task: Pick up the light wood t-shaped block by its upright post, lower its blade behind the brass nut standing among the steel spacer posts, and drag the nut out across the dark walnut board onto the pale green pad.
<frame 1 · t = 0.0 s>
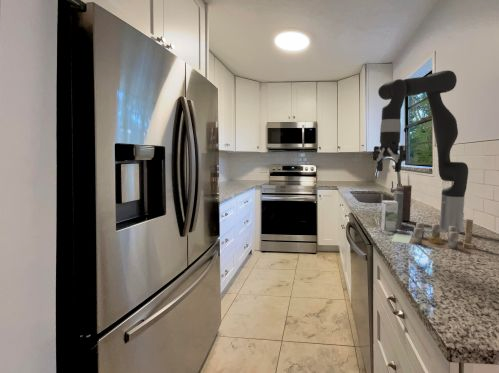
hand: (388, 171, 132), 29 cm above the countertop, tool pointing down, fingers open, 8 cm apart
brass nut: (435, 242, 131), point 1 cm above the countertop, touching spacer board
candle: (402, 221, 181), on the countertop
light wood t-shaped block: (467, 246, 126), point 1 cm above the countertop, touching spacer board
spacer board: (434, 244, 131), on the countertop
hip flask: (397, 226, 168), on the countertop
syrup box: (388, 231, 156), on the countertop
green pad: (401, 240, 138), on the countertop
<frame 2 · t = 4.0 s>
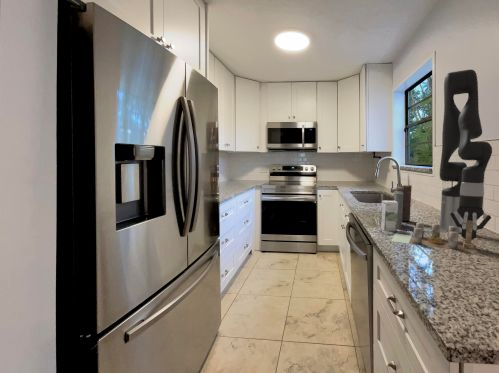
hand: (468, 238, 125), 4 cm above the countertop, tool pointing down, fingers closed on light wood t-shaped block, 2 cm apart
light wood t-shaped block: (467, 246, 126), point 1 cm above the countertop, touching gripper, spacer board
everything else where it was.
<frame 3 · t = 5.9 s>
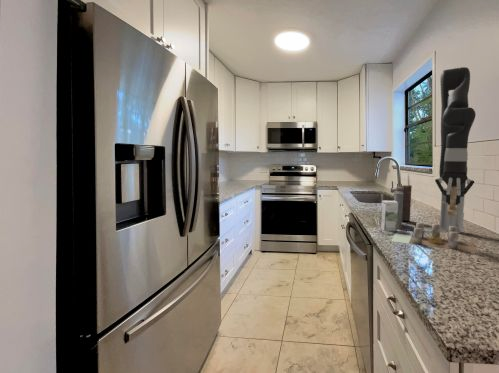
hand: (452, 204, 127), 17 cm above the countertop, tool pointing down, fingers closed on light wood t-shaped block
light wood t-shaped block: (452, 211, 129), point 14 cm above the countertop, tilted 17°, touching gripper
everything else where it was.
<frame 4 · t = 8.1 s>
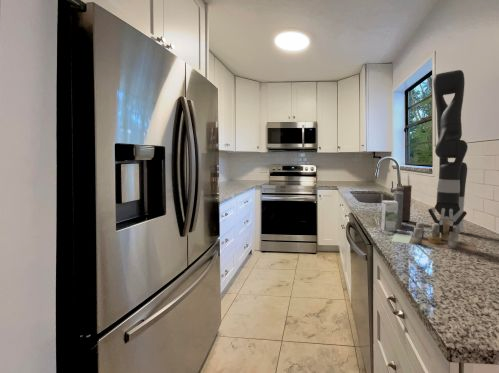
hand: (445, 234, 129), 5 cm above the countertop, tool pointing down, fingers closed on light wood t-shaped block, 2 cm apart
light wood t-shaped block: (445, 233, 132), point 4 cm above the countertop, tilted 53°, touching gripper
everything else where it was.
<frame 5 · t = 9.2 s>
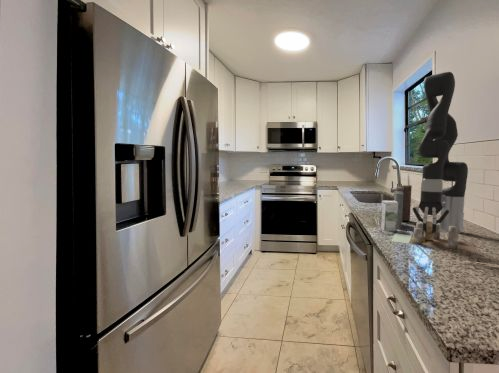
hand: (429, 232, 132), 5 cm above the countertop, tool pointing down, fingers closed on light wood t-shaped block, 2 cm apart
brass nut: (418, 240, 134), point 1 cm above the countertop
light wood t-shaped block: (429, 232, 135), point 4 cm above the countertop, tilted 60°, touching gripper, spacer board
everything else where it was.
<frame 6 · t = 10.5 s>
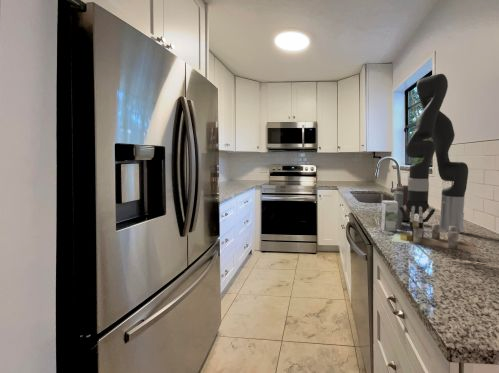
hand: (416, 230, 134), 5 cm above the countertop, tool pointing down, fingers closed on light wood t-shaped block, 2 cm apart
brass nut: (405, 239, 136), point 1 cm above the countertop, touching green pad, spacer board, light wood t-shaped block
light wood t-shaped block: (416, 231, 137), point 4 cm above the countertop, tilted 62°, touching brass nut, gripper, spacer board
everything else where it was.
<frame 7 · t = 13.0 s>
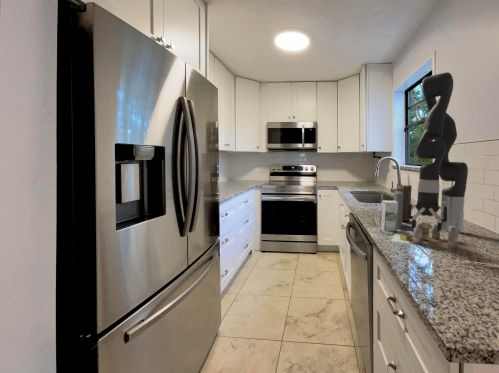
hand: (425, 230, 133), 6 cm above the countertop, tool pointing down, fingers open, 8 cm apart
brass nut: (405, 238, 136), point 1 cm above the countertop, touching green pad, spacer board
light wood t-shaped block: (425, 232, 135), point 4 cm above the countertop, tilted 64°, touching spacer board
everything else where it was.
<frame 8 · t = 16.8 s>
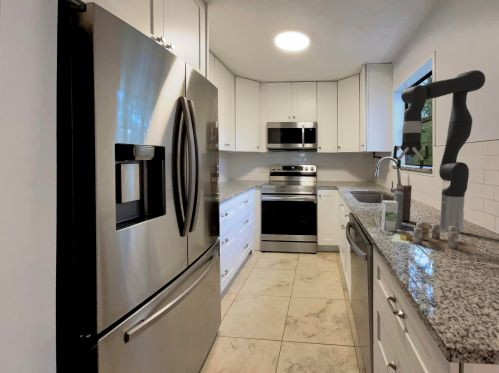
hand: (409, 168, 146), 30 cm above the countertop, tool pointing down, fingers open, 8 cm apart
nothing on the countertop moved.
at the end: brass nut 1.6 cm from the green pad (horizontally); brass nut tilted 0° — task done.
